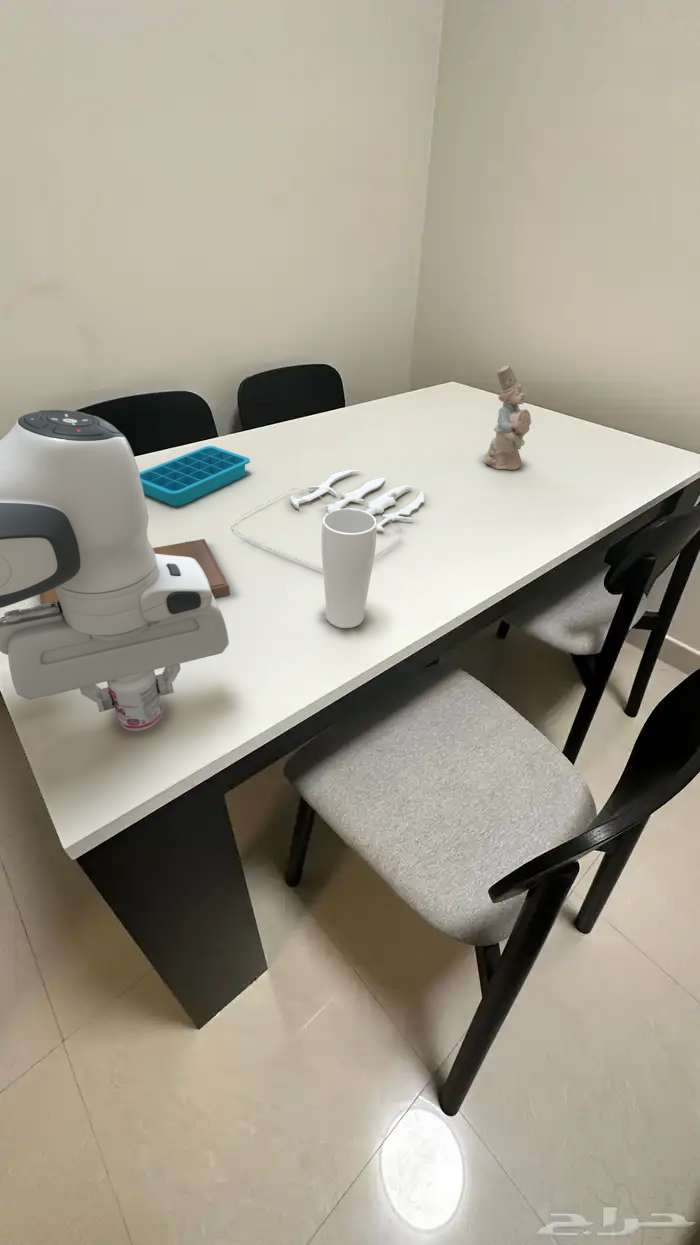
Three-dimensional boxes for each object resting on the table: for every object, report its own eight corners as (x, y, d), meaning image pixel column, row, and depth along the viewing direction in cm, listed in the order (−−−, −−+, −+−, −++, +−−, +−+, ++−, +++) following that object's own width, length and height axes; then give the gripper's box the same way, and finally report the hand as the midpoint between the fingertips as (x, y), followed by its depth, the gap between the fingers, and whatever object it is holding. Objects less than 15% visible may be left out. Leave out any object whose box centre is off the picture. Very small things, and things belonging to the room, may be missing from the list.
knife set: (452, 502, 109) (453, 496, 108) (344, 584, 86) (345, 578, 85) (341, 465, 120) (341, 460, 119) (219, 530, 97) (218, 523, 96)
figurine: (473, 462, 124) (491, 364, 112) (493, 452, 130) (512, 357, 117) (509, 475, 120) (533, 374, 108) (529, 464, 125) (553, 366, 113)
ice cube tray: (253, 474, 115) (253, 459, 113) (176, 510, 102) (173, 495, 100) (211, 458, 120) (209, 444, 118) (132, 492, 106) (128, 476, 105)
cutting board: (46, 634, 74) (42, 624, 73) (40, 577, 84) (37, 567, 83) (229, 594, 83) (229, 585, 82) (205, 547, 92) (204, 538, 91)
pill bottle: (108, 724, 63) (90, 666, 58) (136, 695, 66) (122, 638, 61) (145, 737, 62) (130, 680, 56) (171, 707, 65) (160, 651, 60)
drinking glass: (369, 634, 77) (378, 535, 68) (318, 632, 77) (320, 532, 68) (369, 604, 82) (376, 508, 73) (321, 602, 82) (323, 506, 73)
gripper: (-18, 638, 47) (30, 749, 56) (227, 588, 55) (237, 692, 63) (-16, 596, 52) (28, 705, 60) (210, 555, 59) (221, 657, 68)
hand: (137, 698), depth 62 cm, fingers closed on pill bottle, 5 cm apart
